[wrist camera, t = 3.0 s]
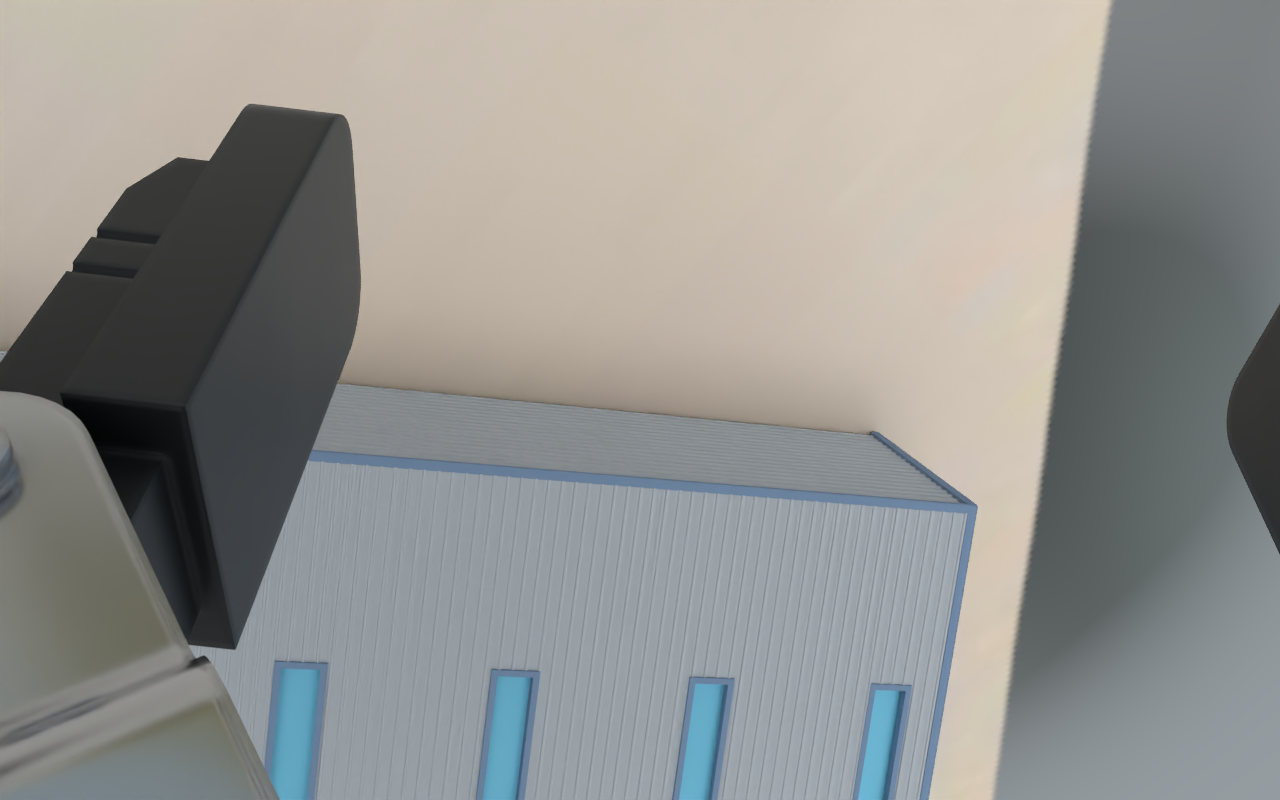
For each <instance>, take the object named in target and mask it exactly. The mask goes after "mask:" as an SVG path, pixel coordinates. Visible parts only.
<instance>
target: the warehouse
mask: <svg viewBox="0 0 1280 800" xmlns="http://www.w3.org/2000/svg"><path fill="white" fill-rule="evenodd" d="M7 352H8V351H0V362H1V361H2V359H3V358H4V357H5V355H6V354H7ZM977 508H978V506H977V505H976V504H975V503H974V502H972V501H971V500H969V499H968V498H967V497H965V496H964V495H963V494H961V493H960V492H959V491H957V490H956V489H955V488H953V487H952V486H950V485H949V484H948V483H946V482H945V481H944V480H942V479H941V478H940V477H938V476H937V475H936V474H934V473H933V472H931V471H930V470H929V469H927V468H926V467H925V466H923V465H922V464H921V463H919V462H918V461H917V460H915V459H914V458H913V457H911V456H910V455H908V454H907V453H906V452H904V451H903V450H902V449H900V448H899V447H898V446H896V445H895V444H894V443H892V442H891V441H889V440H888V439H887V438H885V437H884V436H883V435H881V434H880V433H879V432H871V435H863V434H853V433H842V432H832V431H822V430H811V429H801V428H791V427H780V426H770V425H760V424H750V423H739V422H729V421H719V420H708V419H698V418H688V417H677V416H667V415H657V414H647V413H636V412H626V411H616V410H605V409H595V408H585V407H574V406H564V405H554V404H544V403H533V402H523V401H513V400H502V399H492V398H482V397H471V396H461V395H451V394H441V393H430V392H420V391H410V390H399V389H389V388H379V387H369V386H358V385H348V384H338V383H337V385H336V388H335V390H334V393H333V396H332V398H331V401H330V403H329V406H328V409H327V411H326V414H325V417H324V419H323V422H322V424H321V427H320V430H319V432H318V435H317V438H316V440H315V443H314V445H313V448H312V451H311V453H310V456H309V459H308V461H307V464H306V466H305V469H304V472H303V474H302V477H301V480H300V482H299V485H298V487H297V490H296V493H295V495H294V498H293V501H292V503H291V506H290V508H289V511H288V514H287V516H286V519H285V522H284V524H283V527H282V529H281V532H280V535H279V537H278V540H277V543H276V545H275V548H274V551H273V553H272V556H271V558H270V561H269V564H268V566H267V569H266V572H265V574H264V577H263V579H262V582H261V585H260V587H259V590H258V593H257V595H256V598H255V600H254V603H253V606H252V608H251V611H250V614H249V616H248V619H247V621H246V624H245V627H244V629H243V632H242V635H241V637H240V640H239V642H238V645H237V648H236V650H231V649H221V648H212V647H203V646H193V645H189V647H190V649H191V651H192V653H193V654H194V656H195V658H198V657H201V656H203V655H205V656H206V657H207V658H208V659H209V660H210V662H211V663H212V664H213V666H214V668H215V669H216V671H217V672H218V674H219V676H220V678H221V680H222V682H223V683H224V685H225V687H226V689H227V691H228V693H229V695H230V697H231V699H232V701H233V704H234V706H235V708H236V710H237V712H238V714H239V716H240V718H241V720H242V722H243V724H244V726H245V729H246V731H247V733H248V735H249V737H250V739H251V741H252V743H253V745H254V747H255V749H256V751H257V753H258V756H259V758H260V760H261V762H262V764H263V766H264V768H265V770H266V772H267V774H268V776H269V778H270V781H271V783H272V785H273V787H274V789H275V791H276V793H277V795H278V797H279V799H280V800H928V799H929V793H930V787H931V781H932V775H933V769H934V763H935V757H936V751H937V745H938V739H939V733H940V727H941V721H942V716H943V710H944V704H945V698H946V692H947V686H948V680H949V674H950V668H951V662H952V656H953V650H954V644H955V638H956V632H957V627H958V621H959V615H960V609H961V603H962V597H963V591H964V585H965V579H966V573H967V567H968V561H969V555H970V549H971V544H972V538H973V532H974V526H975V520H976V514H977Z"/></svg>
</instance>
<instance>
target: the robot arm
mask: <svg viewBox="0 0 1280 800" xmlns="http://www.w3.org/2000/svg"><path fill="white" fill-rule="evenodd" d="M360 290H361V272H360V256H359V241H358V226H357V211H356V195H355V180H354V165H353V150H352V139H351V133H350V128H349V124H348V122H347V119H346V118H345V117H344V116H343V115H341V114H333V113H325V112H316V111H308V110H300V109H291V108H283V107H275V106H266V105H258V104H249V105H247V106H246V107H245V108H244V109H243V110H242V111H241V113H240V114H239V116H238V118H237V119H236V121H235V122H234V124H233V125H232V127H231V128H230V130H229V131H228V133H227V134H226V136H225V138H224V139H223V141H222V142H221V144H220V145H219V147H218V148H217V150H216V151H215V153H214V155H213V156H212V158H211V159H210V161H204V160H196V159H187V158H179V157H178V158H176V159H174V160H173V161H171V162H169V163H168V164H166V165H165V166H163V167H161V168H160V169H158V170H156V171H155V172H153V173H151V174H150V175H148V176H146V177H145V178H143V179H142V180H140V181H138V182H137V183H135V184H133V185H132V186H130V187H128V188H127V189H126V190H125V191H124V193H123V194H122V195H121V197H120V198H119V200H118V201H117V202H116V204H115V205H114V206H113V208H112V209H111V211H110V212H109V213H108V215H107V216H106V217H105V219H104V220H103V222H102V223H101V224H100V226H99V227H98V229H97V238H96V237H91V238H90V240H89V241H88V242H87V244H86V245H85V246H84V248H83V249H82V251H81V252H80V253H79V255H78V256H77V257H76V259H75V260H74V262H73V270H72V272H70V271H66V273H65V274H64V275H63V277H62V278H61V279H60V281H59V282H58V284H57V285H56V286H55V288H54V289H53V290H52V292H51V293H50V295H49V296H48V297H47V299H46V300H45V301H44V303H43V304H42V306H41V307H40V308H39V310H38V311H37V312H36V314H35V315H34V317H33V318H32V319H31V321H30V322H29V323H28V325H27V326H26V328H25V329H24V330H23V332H22V333H21V334H20V336H19V337H18V339H17V340H16V341H15V343H14V344H13V345H12V347H11V348H10V350H9V351H8V352H7V354H6V355H5V357H4V358H3V359H2V361H1V362H0V800H280V799H279V797H278V795H277V793H276V791H275V789H274V787H273V785H272V783H271V781H270V778H269V776H268V774H267V772H266V770H265V768H264V766H263V764H262V762H261V760H260V758H259V756H258V753H257V751H256V749H255V747H254V745H253V743H252V741H251V739H250V737H249V735H248V733H247V731H246V729H245V726H244V724H243V722H242V720H241V718H240V716H239V714H238V712H237V710H236V708H235V706H234V704H233V701H232V699H231V697H230V695H229V693H228V691H227V689H226V687H225V685H224V683H223V682H222V680H221V678H220V676H219V674H218V672H217V671H216V669H215V668H214V666H213V664H212V663H211V662H210V660H209V659H208V658H207V657H206V656H205V655H203V656H201V657H198V658H195V656H194V654H193V653H192V651H191V649H190V647H189V645H193V646H203V647H212V648H221V649H231V650H236V648H237V645H238V642H239V640H240V637H241V635H242V632H243V629H244V627H245V624H246V621H247V619H248V616H249V614H250V611H251V608H252V606H253V603H254V600H255V598H256V595H257V593H258V590H259V587H260V585H261V582H262V579H263V577H264V574H265V572H266V569H267V566H268V564H269V561H270V558H271V556H272V553H273V551H274V548H275V545H276V543H277V540H278V537H279V535H280V532H281V529H282V527H283V524H284V522H285V519H286V516H287V514H288V511H289V508H290V506H291V503H292V501H293V498H294V495H295V493H296V490H297V487H298V485H299V482H300V480H301V477H302V474H303V472H304V469H305V466H306V464H307V461H308V459H309V456H310V453H311V451H312V448H313V445H314V443H315V440H316V438H317V435H318V432H319V430H320V427H321V424H322V422H323V419H324V417H325V414H326V411H327V409H328V406H329V403H330V401H331V398H332V396H333V393H334V390H335V388H336V385H337V382H338V380H339V377H340V375H341V372H342V369H343V367H344V364H345V361H346V359H347V356H348V354H349V351H350V348H351V345H352V342H353V338H354V335H355V330H356V325H357V319H358V313H359V304H360ZM1227 434H1228V440H1229V444H1230V448H1231V450H1232V453H1233V455H1234V457H1235V459H1236V461H1237V463H1238V466H1239V468H1240V470H1241V472H1242V474H1243V476H1244V479H1245V481H1246V483H1247V485H1248V487H1249V489H1250V491H1251V494H1252V496H1253V498H1254V500H1255V502H1256V504H1257V506H1258V509H1259V511H1260V513H1261V515H1262V517H1263V519H1264V521H1265V524H1266V526H1267V528H1268V530H1269V532H1270V534H1271V536H1272V539H1273V541H1274V543H1275V545H1276V547H1277V549H1278V551H1279V553H1280V305H1279V306H1278V308H1277V310H1276V312H1275V313H1274V315H1273V317H1272V318H1271V320H1270V322H1269V324H1268V325H1267V327H1266V329H1265V331H1264V332H1263V334H1262V336H1261V337H1260V339H1259V341H1258V342H1257V344H1256V346H1255V348H1254V349H1253V351H1252V353H1251V355H1250V356H1249V358H1248V360H1247V361H1246V363H1245V365H1244V366H1243V368H1242V370H1241V372H1240V373H1239V375H1238V377H1237V379H1236V381H1235V384H1234V386H1233V389H1232V392H1231V396H1230V399H1229V405H1228V410H1227Z"/></svg>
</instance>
